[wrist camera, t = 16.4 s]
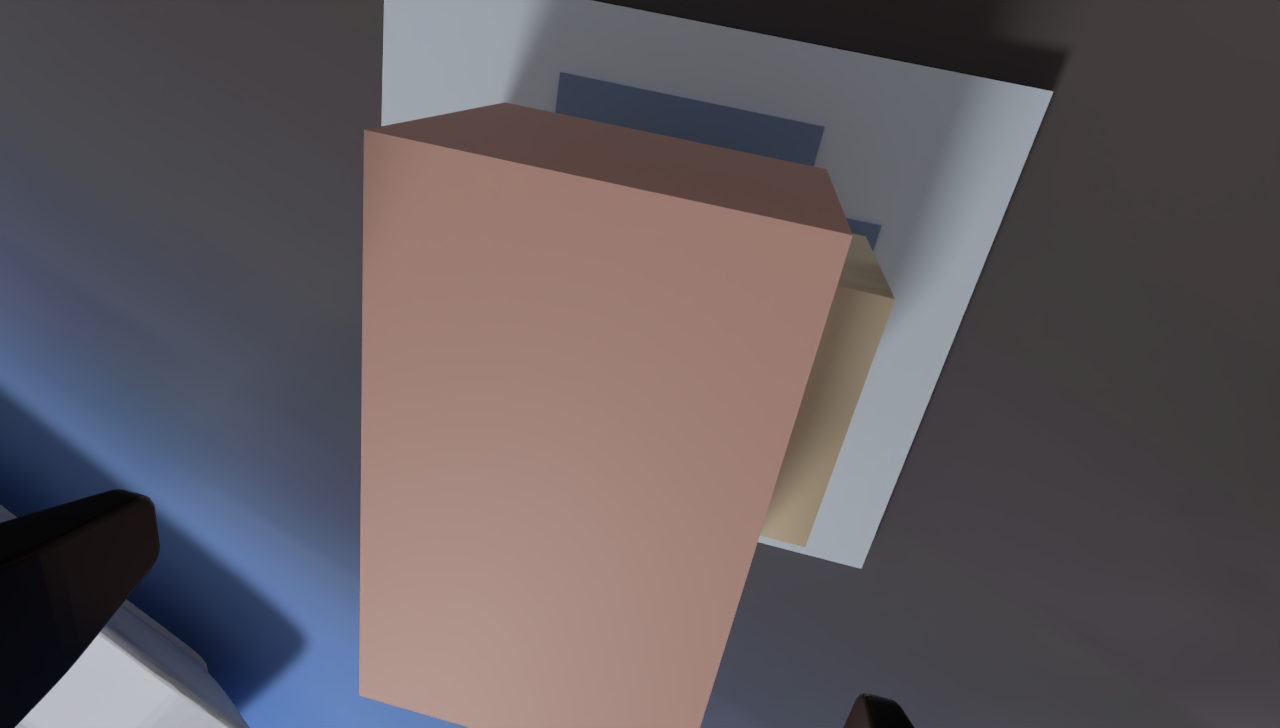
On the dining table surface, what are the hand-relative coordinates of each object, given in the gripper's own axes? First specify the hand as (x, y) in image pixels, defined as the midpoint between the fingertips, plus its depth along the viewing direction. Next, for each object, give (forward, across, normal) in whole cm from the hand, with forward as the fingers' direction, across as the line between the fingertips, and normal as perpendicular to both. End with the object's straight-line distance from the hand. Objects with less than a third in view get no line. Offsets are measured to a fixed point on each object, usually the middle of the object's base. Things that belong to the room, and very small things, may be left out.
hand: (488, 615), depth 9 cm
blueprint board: (+13, 0, 0) cm, 13 cm away
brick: (+7, 0, 0) cm, 7 cm away
